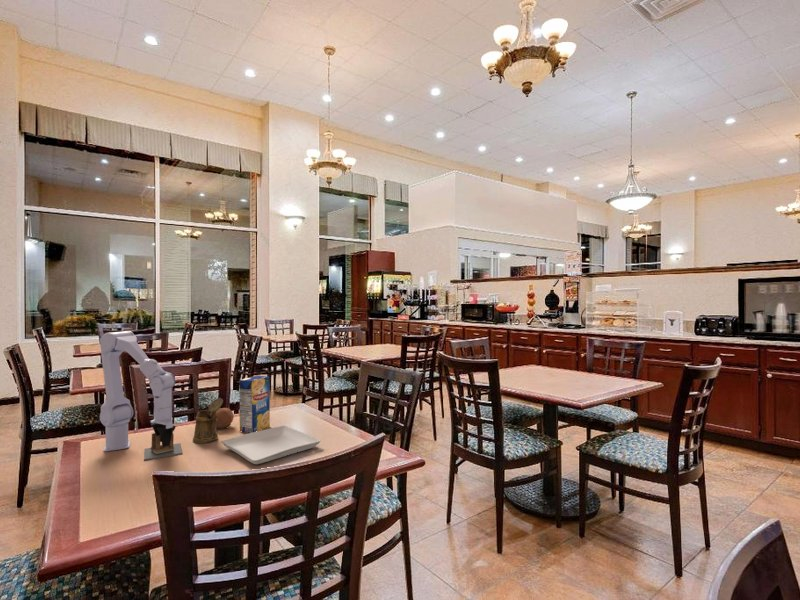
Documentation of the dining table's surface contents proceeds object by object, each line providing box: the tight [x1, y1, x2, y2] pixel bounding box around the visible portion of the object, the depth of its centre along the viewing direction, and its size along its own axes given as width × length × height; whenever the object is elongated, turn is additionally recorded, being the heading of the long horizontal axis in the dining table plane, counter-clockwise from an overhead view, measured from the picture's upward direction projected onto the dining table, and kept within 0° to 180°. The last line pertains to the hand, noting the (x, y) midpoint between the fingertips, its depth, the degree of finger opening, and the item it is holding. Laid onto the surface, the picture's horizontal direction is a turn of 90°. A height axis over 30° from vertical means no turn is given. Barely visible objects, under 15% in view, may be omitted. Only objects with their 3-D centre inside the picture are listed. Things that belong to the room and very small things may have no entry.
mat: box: [143, 442, 184, 461], centre depth 158 cm, size 12×12×1 cm
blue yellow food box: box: [238, 375, 271, 434], centre depth 185 cm, size 7×11×22 cm, turn 157°
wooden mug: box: [192, 397, 224, 444], centre depth 170 cm, size 9×14×18 cm, turn 60°
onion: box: [216, 407, 234, 430], centre depth 187 cm, size 10×9×10 cm
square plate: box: [220, 425, 322, 465], centre depth 161 cm, size 27×27×4 cm
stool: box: [150, 432, 175, 454], centre depth 158 cm, size 6×6×6 cm
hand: (163, 443), depth 158 cm, fingers closed on stool, 6 cm apart
